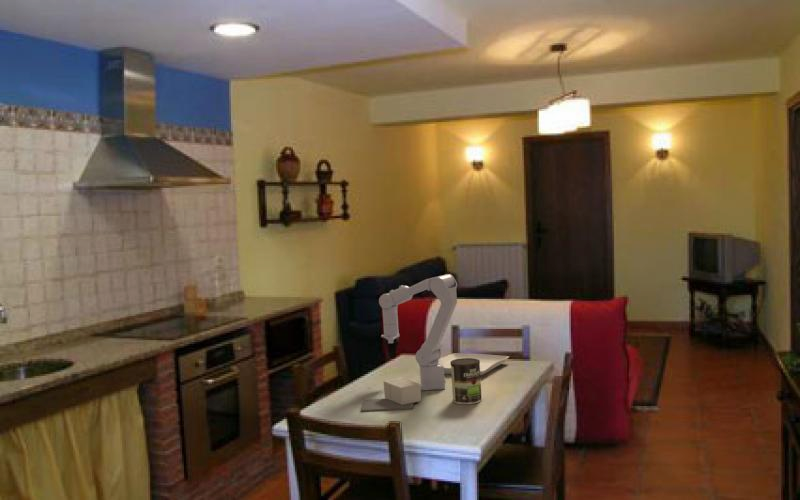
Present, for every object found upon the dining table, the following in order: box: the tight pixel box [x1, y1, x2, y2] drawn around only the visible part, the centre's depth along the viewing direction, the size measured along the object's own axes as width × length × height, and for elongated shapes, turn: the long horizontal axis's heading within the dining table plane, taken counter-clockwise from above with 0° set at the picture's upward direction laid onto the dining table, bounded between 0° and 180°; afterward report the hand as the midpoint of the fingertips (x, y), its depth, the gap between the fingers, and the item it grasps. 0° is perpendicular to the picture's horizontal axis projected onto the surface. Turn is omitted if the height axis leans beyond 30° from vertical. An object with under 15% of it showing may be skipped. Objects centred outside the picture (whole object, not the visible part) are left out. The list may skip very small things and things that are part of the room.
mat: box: [360, 397, 415, 413], centre depth 255 cm, size 18×13×1 cm
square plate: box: [438, 352, 510, 376], centre depth 301 cm, size 27×27×4 cm
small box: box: [383, 377, 422, 405], centre depth 259 cm, size 8×6×13 cm
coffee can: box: [450, 358, 483, 406], centre depth 254 cm, size 10×10×14 cm
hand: (393, 357), depth 283 cm, fingers closed
